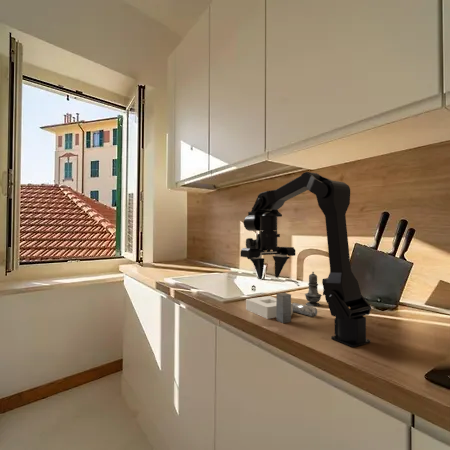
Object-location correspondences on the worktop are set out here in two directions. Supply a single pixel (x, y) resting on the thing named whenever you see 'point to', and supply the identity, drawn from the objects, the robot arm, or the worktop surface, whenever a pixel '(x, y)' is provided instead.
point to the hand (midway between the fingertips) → (268, 278)
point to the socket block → (263, 306)
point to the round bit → (304, 309)
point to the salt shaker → (313, 292)
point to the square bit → (283, 307)
